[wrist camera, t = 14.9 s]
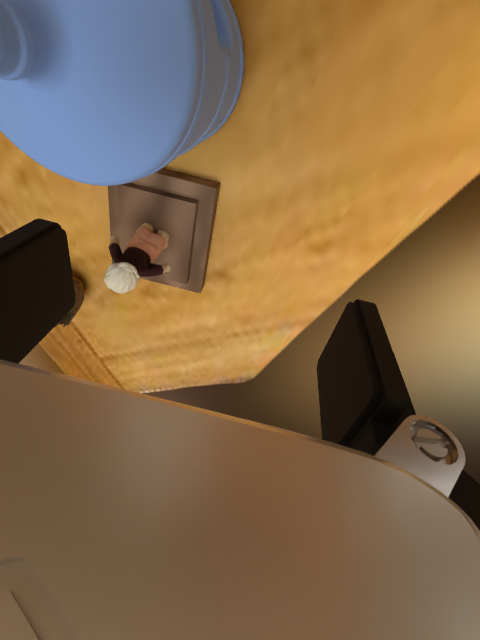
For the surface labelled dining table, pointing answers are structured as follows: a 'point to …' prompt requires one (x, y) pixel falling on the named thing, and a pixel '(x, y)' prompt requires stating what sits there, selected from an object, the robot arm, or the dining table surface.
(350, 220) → the dining table surface
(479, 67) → the dining table surface
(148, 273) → the grandmother figurine
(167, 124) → the water jug
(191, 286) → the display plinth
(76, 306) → the cup
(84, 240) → the dining table surface
